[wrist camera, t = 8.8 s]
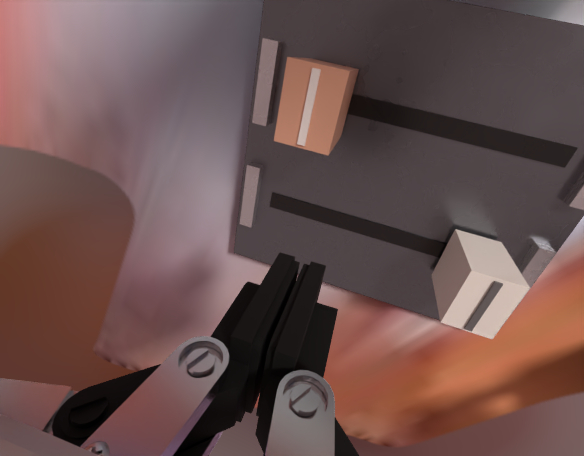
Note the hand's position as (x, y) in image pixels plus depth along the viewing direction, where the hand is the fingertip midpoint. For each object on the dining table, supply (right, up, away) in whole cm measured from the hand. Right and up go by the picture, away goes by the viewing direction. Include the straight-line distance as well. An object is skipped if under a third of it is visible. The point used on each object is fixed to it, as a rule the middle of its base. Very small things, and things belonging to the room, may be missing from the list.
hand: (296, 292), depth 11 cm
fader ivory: (+12, 0, +11) cm, 16 cm away
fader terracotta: (+2, +10, +9) cm, 14 cm away
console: (+8, +6, +12) cm, 15 cm away
